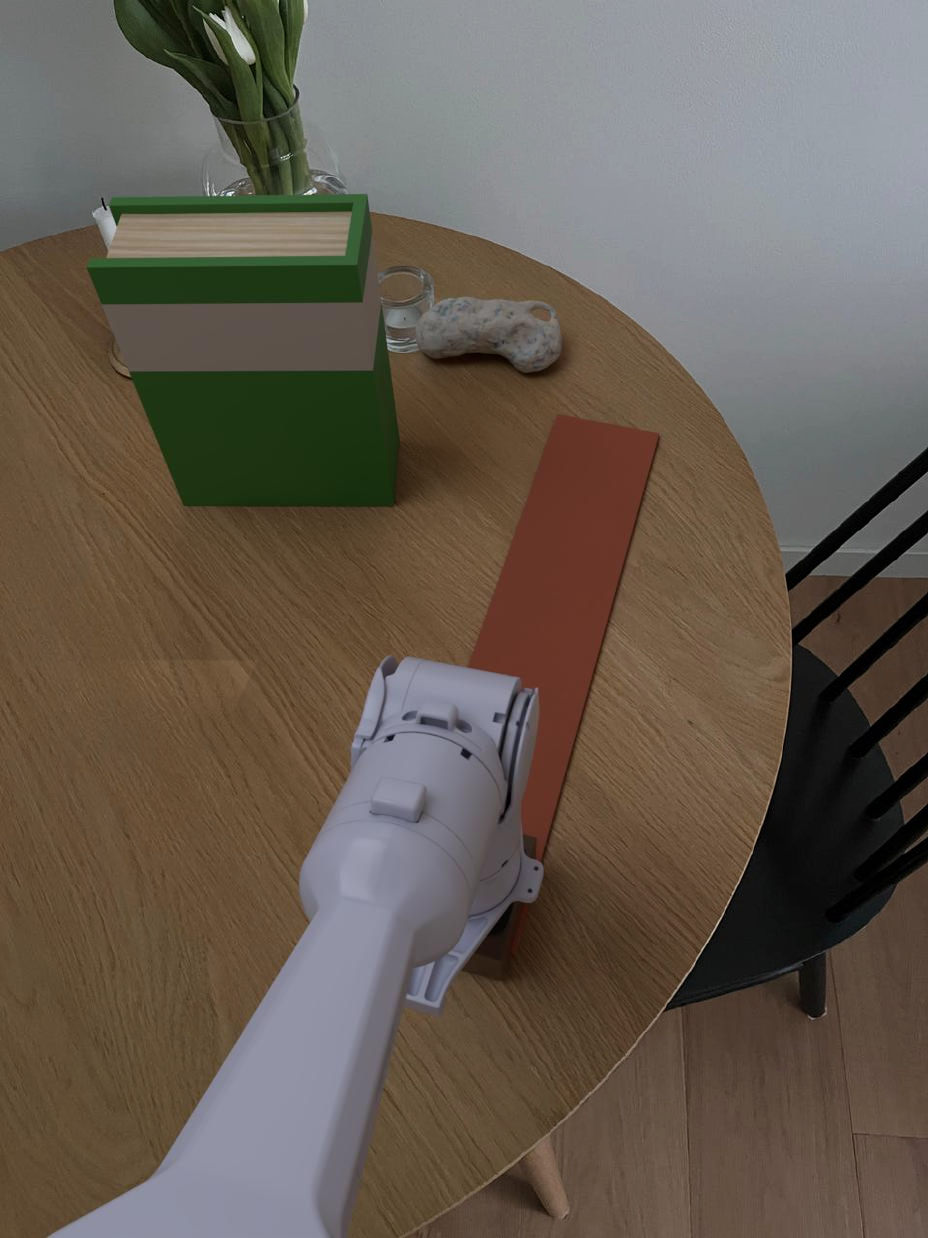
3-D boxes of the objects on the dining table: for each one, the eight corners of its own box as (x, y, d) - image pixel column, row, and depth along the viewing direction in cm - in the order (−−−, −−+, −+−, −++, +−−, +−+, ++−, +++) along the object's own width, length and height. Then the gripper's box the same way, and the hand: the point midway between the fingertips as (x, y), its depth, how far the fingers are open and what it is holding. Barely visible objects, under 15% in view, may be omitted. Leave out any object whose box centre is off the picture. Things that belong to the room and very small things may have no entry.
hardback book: (183, 505, 89) (86, 267, 69) (199, 440, 93) (111, 197, 73) (393, 506, 88) (356, 264, 68) (399, 439, 92) (367, 193, 72)
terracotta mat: (515, 956, 67) (515, 954, 66) (380, 916, 68) (380, 914, 68) (659, 436, 91) (659, 432, 90) (556, 416, 92) (557, 413, 92)
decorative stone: (414, 381, 96) (409, 337, 91) (417, 331, 99) (413, 286, 95) (562, 379, 95) (564, 334, 91) (559, 328, 99) (561, 283, 94)
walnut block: (501, 961, 62) (537, 837, 66) (430, 940, 63) (469, 818, 67) (502, 982, 66) (535, 862, 70) (434, 961, 66) (471, 845, 71)
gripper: (499, 1004, 45) (502, 1068, 57) (579, 715, 53) (568, 823, 64) (345, 957, 47) (378, 1028, 58) (445, 682, 54) (457, 793, 66)
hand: (470, 918), depth 61 cm, fingers closed
